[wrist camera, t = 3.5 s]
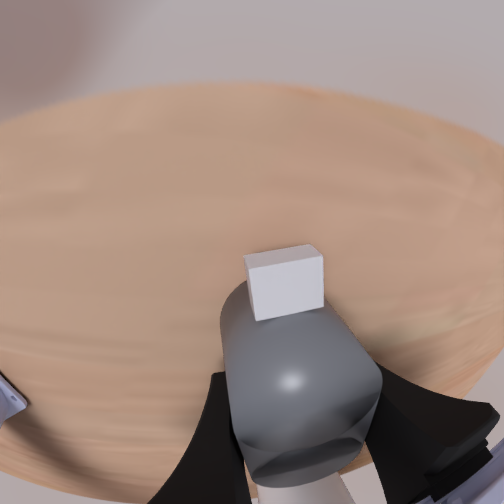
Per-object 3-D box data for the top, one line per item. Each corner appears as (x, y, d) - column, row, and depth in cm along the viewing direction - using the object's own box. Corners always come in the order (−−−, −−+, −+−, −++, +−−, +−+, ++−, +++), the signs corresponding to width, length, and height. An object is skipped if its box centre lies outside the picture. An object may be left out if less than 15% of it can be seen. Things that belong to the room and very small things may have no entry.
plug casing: (202, 241, 10) (200, 321, 5) (321, 222, 10) (403, 277, 6) (242, 416, 13) (257, 494, 9) (320, 398, 14) (353, 468, 9)
